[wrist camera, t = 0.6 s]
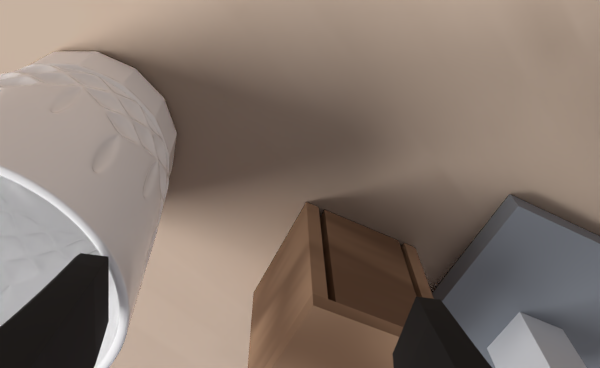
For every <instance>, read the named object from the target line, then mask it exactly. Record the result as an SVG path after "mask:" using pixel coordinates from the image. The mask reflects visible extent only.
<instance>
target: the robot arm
mask: <svg viewBox="0 0 600 368" xmlns="http://www.w3.org/2000/svg"><path fill="white" fill-rule="evenodd" d="M108 322H109V257H107V256H99V255H92V254H84V253H80V254H79V255H77V256H76V257H75V258H74V259H73V260H72V261H71V262H70V263H69V264H68V265H67V266H66V267H65V268H64V269H63V270H62V271H61V272H60V273H59V274H58V275H57V276H56V277H55V278H54V279H52V280H51V281H50V282H49V283H48V284H47V285H46V286H45V287H44V288H43V289H42V290H41V291H40V292H39V293H38V294H37V295H36V296H34V297H33V298H32V299H31V300H30V301H29V302H28V303H27V304H26V305H24V306H23V307H22V308H21V309H20V310H19V311H18V312H17V313H15V314H14V315H13V316H12V317H11V318H10V319H9V320H7V321H6V322H5V323H4V324H3V325H2V326H0V368H94V366H95V364H96V361H97V358H98V355H99V351H100V348H101V345H102V342H103V338H104V335H105V332H106V328H107V325H108ZM393 367H394V368H492V367H491V366H490V364H489V363H488V362H487V360H486V359H485V358H484V357H483V355H482V354H481V353H480V351H479V350H478V349H477V348H476V346H475V345H474V344H473V342H472V341H471V340H470V338H469V337H468V336H467V334H466V333H465V332H464V330H463V329H462V328H461V326H460V325H459V324H458V322H457V321H456V319H455V318H454V317H453V315H452V314H451V313H450V311H449V310H448V309H447V307H446V306H445V305H444V304H443V302H442V301H441V300H440V299H432V298H424V297H417V296H416V298H415V300H414V303H413V305H412V308H411V310H410V312H409V315H408V317H407V320H406V322H405V325H404V327H403V330H402V332H401V334H400V337H399V339H398V342H397V344H396V347H395V349H394V351H393Z"/></svg>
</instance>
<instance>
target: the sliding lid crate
mask: <svg viewBox="0 0 600 368" xmlns="http://www.w3.org/2000/svg"><path fill="white" fill-rule="evenodd" d="M416 296H417V297H424V298H432V299H434V298H433V295H432V293H431V290H430V287H429V284H428V281H427V279H426V276H425V273H424V270H423V268H422V265H421V262H420V259H419V257H418V254H417V251H416V248H415V247H413V246H410V245H408V244H406V243H404V244H403V245H402V246H401V247H400V244H399V241H398V240H396V239H394V238H391V237H389V236H386V235H384V234H382V233H379V232H377V231H374V230H372V229H370V228H367V227H365V226H363V225H360V224H358V223H355V222H353V221H351V220H348V219H346V218H343V217H341V216H339V215H336V214H334V213H331V212H329V211H327V210H324V212H323V213H322V215H321V217H320V216H319V207H317V206H315V205H312V204H310V203H307V202H306V204H305V205H304V207H303V209H302V210H301V212H300V214H299V216H298V217H297V219H296V221H295V223H294V224H293V226H292V228H291V229H290V231H289V233H288V235H287V236H286V238H285V240H284V241H283V243H282V245H281V247H280V248H279V250H278V252H277V254H276V255H275V257H274V259H273V260H272V262H271V264H270V266H269V267H268V269H267V271H266V272H265V274H264V276H263V278H262V279H261V281H260V283H259V284H258V286H257V288H256V290H255V291H254V296H253V308H252V321H251V333H250V346H249V358H248V368H394V367H393V351H394V349H395V347H396V344H397V342H398V339H399V337H400V334H401V332H402V330H403V327H404V325H405V322H406V320H407V317H408V315H409V312H410V310H411V308H412V305H413V303H414V300H415V298H416Z"/></svg>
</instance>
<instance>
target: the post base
mask: <svg viewBox="0 0 600 368" xmlns="http://www.w3.org/2000/svg"><path fill="white" fill-rule="evenodd" d="M432 295H433V298H434V299H440V300H441V301H442V302H443V304H444V305H445V306H446V307H447V309H448V310H449V311H450V313H451V314H452V315H453V317H454V318H455V319H456V321H457V322H458V324H459V325H460V326H461V328H462V329H463V330H464V332H465V333H466V334H467V336H468V337H469V338H470V340H471V341H472V342H473V344H474V345H475V346H476V348H477V349H478V350H479V351H480V353H481V354H482V355H483V357H484V358H485V359H486V360H487V362H488V363H489V364H490V366H491V367H492V368H600V236H598V235H596V234H594V233H592V232H590V231H587V230H585V229H583V228H581V227H579V226H577V225H575V224H572V223H570V222H568V221H566V220H564V219H562V218H560V217H557V216H555V215H553V214H551V213H549V212H547V211H545V210H543V209H540V208H538V207H536V206H534V205H532V204H530V203H528V202H525V201H523V200H521V199H519V198H517V197H515V196H513V195H510V194H509V195H508V197H507V198H506V199H505V201H504V202H503V203H502V204H501V206H500V207H499V208H498V210H497V211H496V212H495V213H494V215H493V216H492V217H491V219H490V220H489V221H488V222H487V224H486V225H485V226H484V227H483V229H482V230H481V231H480V233H479V234H478V235H477V236H476V238H475V239H474V240H473V242H472V243H471V244H470V245H469V247H468V248H467V249H466V250H465V252H464V253H463V254H462V256H461V257H460V258H459V259H458V261H457V262H456V263H455V265H454V266H453V267H452V268H451V270H450V271H449V272H448V274H447V275H446V276H445V277H444V279H443V280H442V281H441V282H440V284H439V285H438V286H437V288H436V289H435V290H434V291H433V293H432Z"/></svg>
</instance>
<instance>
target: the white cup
mask: <svg viewBox="0 0 600 368" xmlns="http://www.w3.org/2000/svg"><path fill="white" fill-rule="evenodd" d="M176 137H177V132H176V129H175V126H174V124H173V121H172V118H171V115H170V113H169V110H168V107H167V104H166V102H165V99H164V97H163V96H162V95H161V94H160V93H159V92H158V91H157V90H156V89H155V88H154V87H153V86H152V85H151V84H150V83H149V82H148V81H147V80H146V79H145V78H144V77H143V76H142V75H141V74H140V73H139V72H138V70H137V69H135V68H133V67H131V66H129V65H126V64H124V63H122V62H120V61H117V60H115V59H113V58H111V57H108V56H106V55H104V54H101V53H99V52H97V51H54V52H52V53H50V54H48V55H46V56H44V57H42V58H40V59H38V60H37V61H35V62H33V63H31V64H29V65H27V66H25V67H23V68H21V69H18V70H15V71H11V72H6V73H3V74H0V326H2V325H3V324H4V323H5V322H6V321H7V320H9V319H10V318H11V317H12V316H13V315H14V314H15V313H17V312H18V311H19V310H20V309H21V308H22V307H23V306H24V305H26V304H27V303H28V302H29V301H30V300H31V299H32V298H33V297H34V296H36V295H37V294H38V293H39V292H40V291H41V290H42V289H43V288H44V287H45V286H46V285H47V284H48V283H49V282H50V281H51V280H52V279H54V278H55V277H56V276H57V275H58V274H59V273H60V272H61V271H62V270H63V269H64V268H65V267H66V266H67V265H68V264H69V263H70V262H71V261H72V260H73V259H74V258H75V257H76V256H77V255H79V254H80V253H84V254H92V255H99V256H107V257H109V322H108V325H107V328H106V332H105V335H104V338H103V342H102V345H101V348H100V351H99V355H98V358H97V361H96V364H95V366H94V368H109V366H110V365H111V364H112V363H113V361H114V360H115V359H116V357H117V355H118V354H119V352H120V350H121V348H122V346H123V343H124V341H125V338H126V335H127V331H128V328H129V324H130V321H131V318H132V314H133V311H134V307H135V304H136V301H137V297H138V294H139V290H140V287H141V284H142V281H143V277H144V274H145V271H146V267H147V264H148V261H149V257H150V254H151V251H152V248H153V244H154V241H155V238H156V234H157V228H158V225H159V221H160V218H161V214H162V210H163V206H164V202H165V198H166V195H167V191H168V186H169V177H170V173H171V170H172V167H173V160H174V152H175V145H176Z"/></svg>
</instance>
